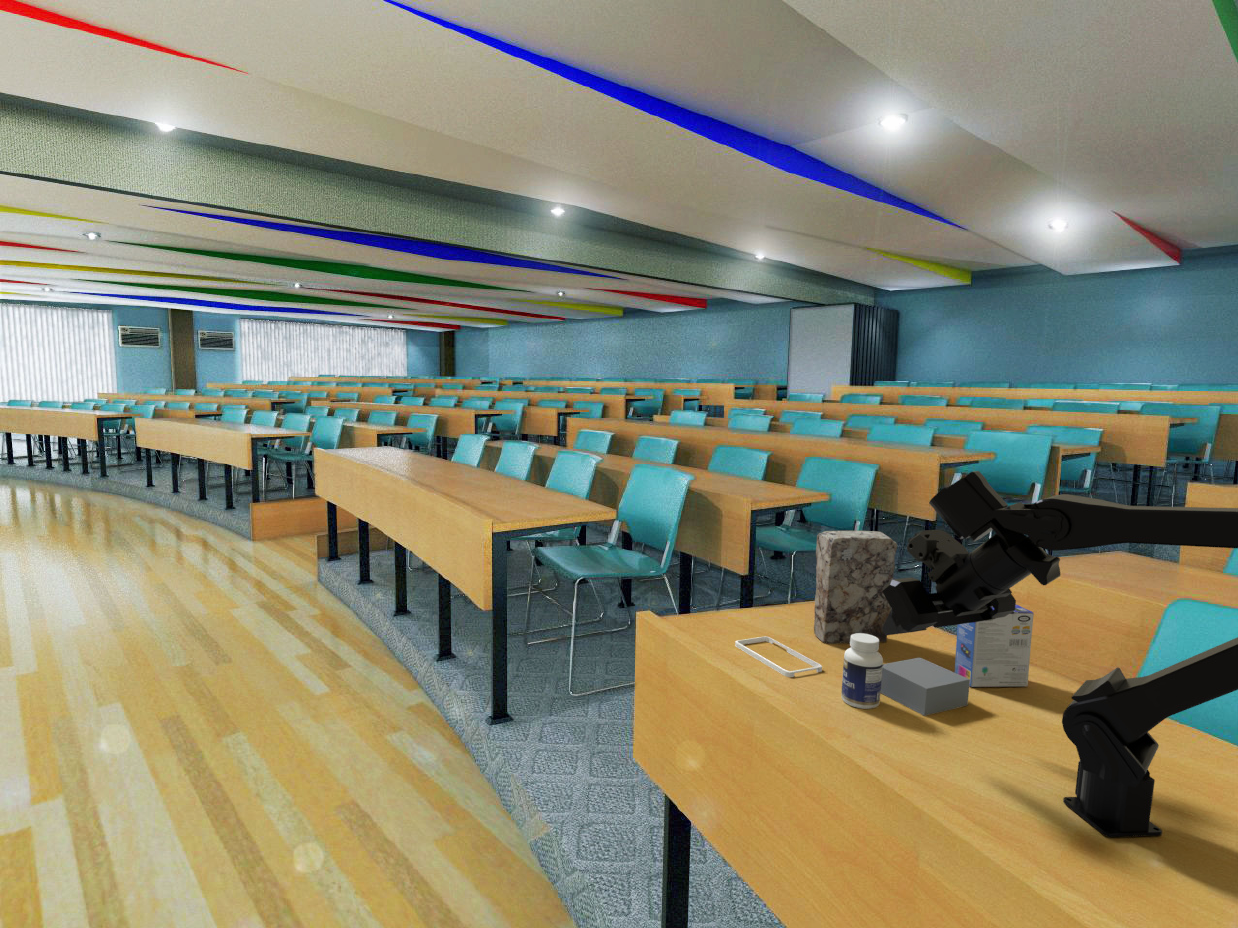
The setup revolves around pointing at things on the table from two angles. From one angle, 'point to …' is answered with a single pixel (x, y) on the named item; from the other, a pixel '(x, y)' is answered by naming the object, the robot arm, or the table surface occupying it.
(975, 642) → the ink cartridge box
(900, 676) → the slate block
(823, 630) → the stone block
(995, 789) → the table surface
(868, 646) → the pill bottle
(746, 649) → the phone case
